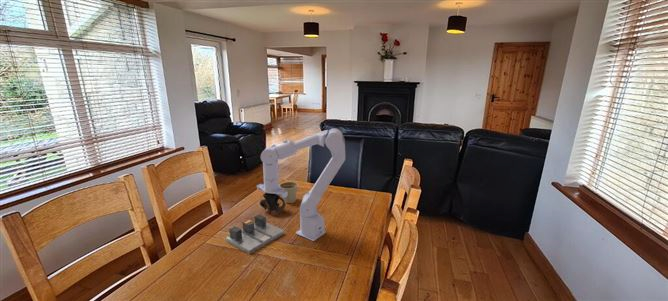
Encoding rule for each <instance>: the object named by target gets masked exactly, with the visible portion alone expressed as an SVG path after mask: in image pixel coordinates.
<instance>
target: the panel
mask: <svg viewBox="0 0 668 301" xmlns="http://www.w3.org/2000/svg"><path fill="white" fill-rule="evenodd" d="M266 219H267V217H266V216H264V215H262V214H257V215H255V216H254V229H255V230H254V231H253V232H251V233H248V232H246V231H244V230H243V228H242V229H241V228H240V227H237V226H235V225H234V226H233V227H230V228H229V229H228V230H229V231H228V232H229V235H228V236H226V237H225V242H227V243H229V244H230V245H233V246H234V247H236V248H238V249H240V250H241V251H243V252H245V253H247V254H249V255H251V254H252V253H254V252H255V251H257V250H259V249H261V248H263V247H264V246H265V245H267V244H269V243H270V242H272V241H274V240H276V239H277V238H279V237H282V235H284V234H285V230H284V229H282V228H280V227H278V226H275V225H273V224H270V223H268V222H267V220H266Z"/></svg>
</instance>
